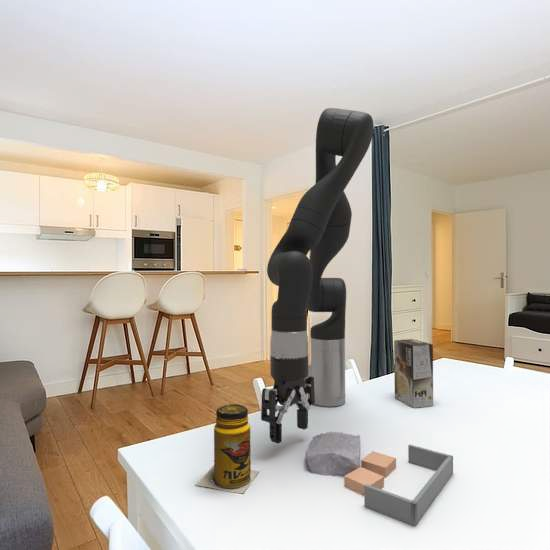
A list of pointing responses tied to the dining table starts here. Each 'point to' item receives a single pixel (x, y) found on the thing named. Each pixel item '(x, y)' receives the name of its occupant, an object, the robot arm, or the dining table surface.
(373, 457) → the tile
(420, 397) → the coffee box
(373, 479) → the tile
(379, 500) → the frame
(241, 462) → the condiment
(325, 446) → the stone block
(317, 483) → the dining table surface
